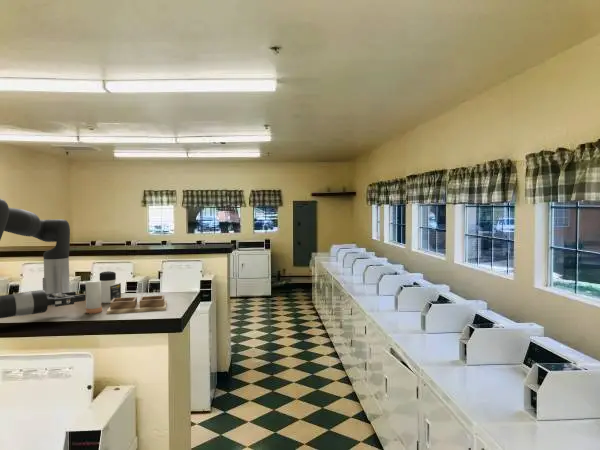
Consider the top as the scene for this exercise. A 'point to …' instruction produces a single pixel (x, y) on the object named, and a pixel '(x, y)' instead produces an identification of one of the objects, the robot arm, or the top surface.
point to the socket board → (137, 304)
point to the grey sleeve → (93, 297)
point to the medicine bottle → (109, 287)
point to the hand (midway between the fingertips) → (80, 295)
